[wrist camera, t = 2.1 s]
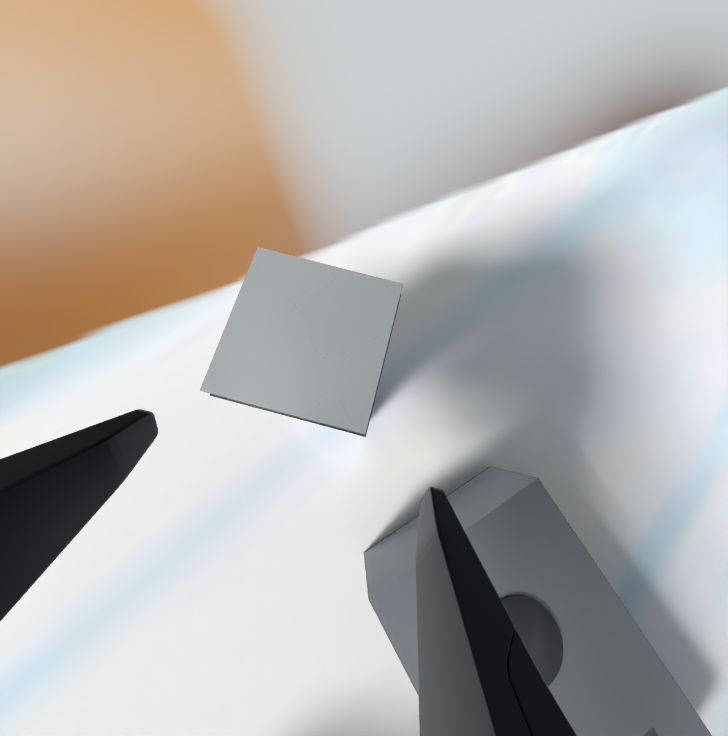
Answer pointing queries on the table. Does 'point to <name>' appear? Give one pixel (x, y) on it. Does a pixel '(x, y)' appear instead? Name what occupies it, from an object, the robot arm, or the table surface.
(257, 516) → the table surface
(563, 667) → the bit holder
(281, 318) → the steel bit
